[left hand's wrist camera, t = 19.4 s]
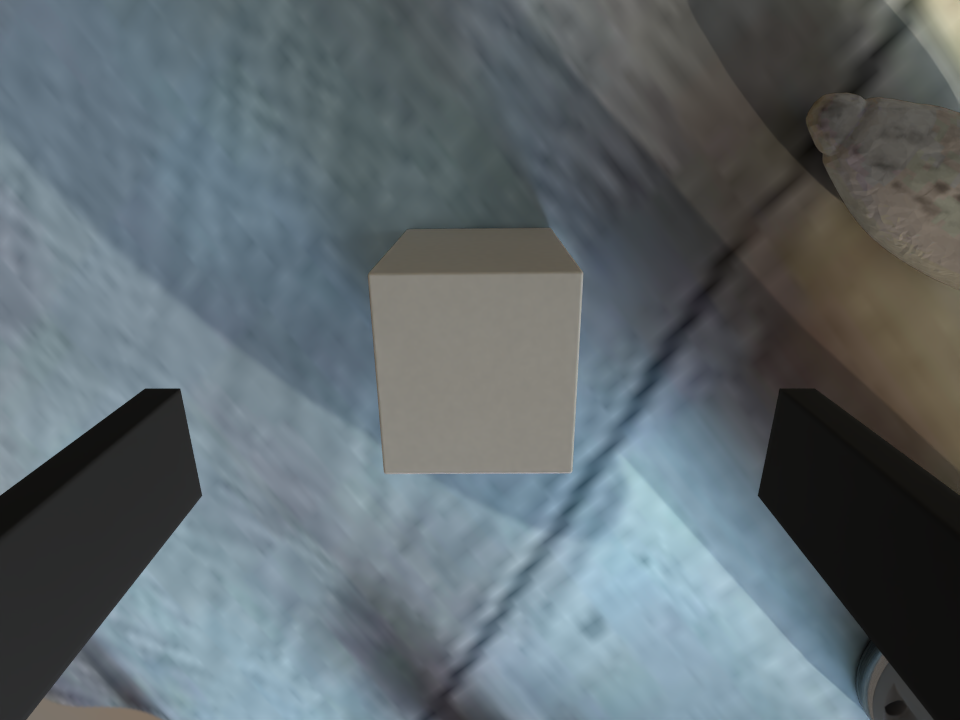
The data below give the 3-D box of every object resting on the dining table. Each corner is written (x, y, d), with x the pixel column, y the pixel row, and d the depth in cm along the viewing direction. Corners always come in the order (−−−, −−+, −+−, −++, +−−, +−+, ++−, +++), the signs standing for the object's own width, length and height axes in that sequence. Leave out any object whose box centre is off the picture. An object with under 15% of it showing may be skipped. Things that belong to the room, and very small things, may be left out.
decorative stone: (840, 45, 25) (891, 32, 22) (1089, 216, 28) (1167, 226, 25) (752, 173, 27) (788, 178, 24) (992, 322, 30) (1053, 344, 27)
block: (406, 228, 28) (367, 273, 19) (551, 227, 28) (583, 271, 19) (414, 373, 31) (383, 474, 22) (546, 372, 31) (572, 474, 22)
